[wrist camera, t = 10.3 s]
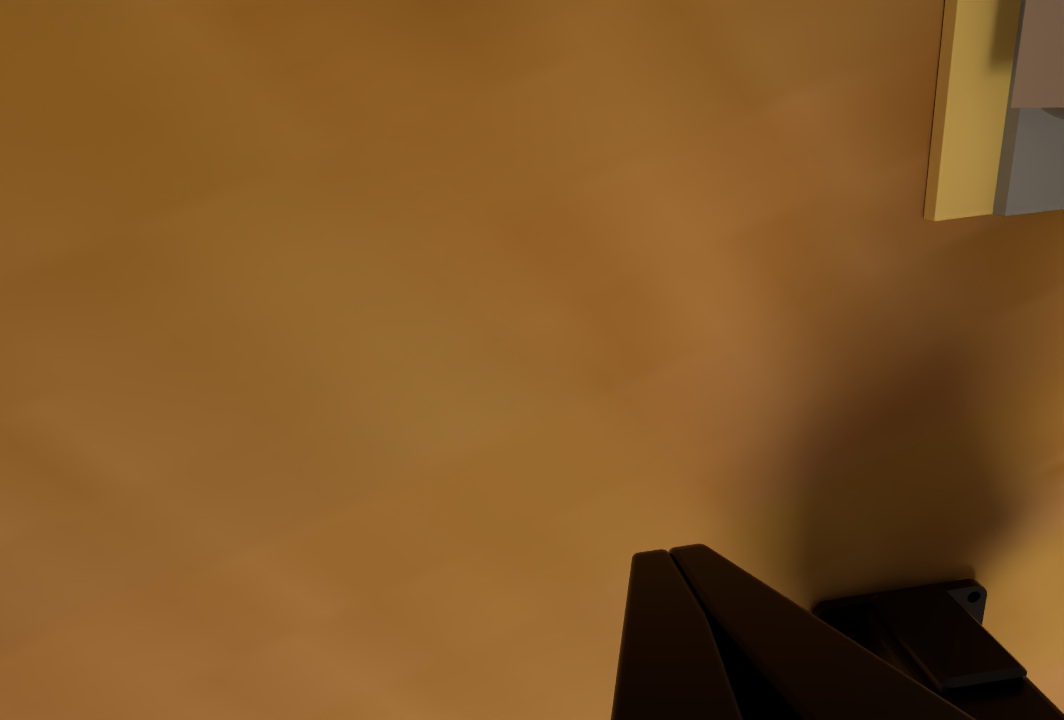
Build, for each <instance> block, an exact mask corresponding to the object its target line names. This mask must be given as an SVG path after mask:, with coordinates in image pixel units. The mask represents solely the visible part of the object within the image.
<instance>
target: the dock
mask: <svg viewBox="0 0 1064 720" xmlns="http://www.w3.org/2000/svg"><path fill="white" fill-rule="evenodd" d="M1025 5H1026V0H945V10H944V20H943V29H942V39H941V49H940V59H939V69H938V79H937V89H936V99H935V109H934V119H933V129H932V139H931V149H930V159H929V169H928V179H927V189H926V199H925V209H924V219H927V220H931V221H940V220H948V219H956V218H964V217H972V216H980V215H988V214H995V215H1000V216H1012V215H1020V214H1028V213H1036V212H1044V211H1052V210H1060V209H1064V120H1063V119H1060V118H1056V117H1054V116H1052V115H1050V114H1048V113H1046V112H1045V111H1043V110H1042V109H1041V108H1011V103H1012V96H1013V89H1014V82H1015V75H1016V68H1017V61H1018V54H1019V47H1020V40H1021V33H1022V26H1023V19H1024V12H1025Z"/></svg>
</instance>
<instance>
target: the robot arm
mask: <svg viewBox="0 0 1064 720" xmlns="http://www.w3.org/2000/svg"><path fill="white" fill-rule="evenodd" d="M986 597H987V591H986V590H985V588H984V587H983V586H982V585H981V584H980V583H978V582H977V581H976V580H974V579H965V580H959V581H952V582H946V583H939V584H933V585H926V586H920V587H913V588H907V589H900V590H893V591H887V592H880V593H874V594H867V595H861V596H854V597H848V598H841V599H835V600H828V601H824V602H821V603H819V604H818V605H816V607H815V608H814V609H813V613H812V614H811V613H810V612H808V611H807V610H805V609H804V608H802V607H800V606H799V605H797V604H796V603H794V602H793V601H791V600H790V599H788V598H787V597H785V596H783V595H782V594H780V593H779V592H777V591H776V590H774V589H773V588H771V587H769V586H768V585H766V584H765V583H763V582H762V581H760V580H759V579H757V578H756V577H754V576H752V575H751V574H749V573H748V572H746V571H745V570H743V569H742V568H740V567H738V566H737V565H735V564H734V563H732V562H731V561H729V560H728V559H726V558H725V557H723V556H721V555H720V554H718V553H717V552H715V551H714V550H712V549H711V548H709V547H708V546H706V545H703V544H693V545H686V546H680V547H673V548H671V549H670V550H669V552H668V551H666V550H663V549H659V550H653V551H646V552H639V553H636V554H634V555H633V557H632V563H631V570H630V578H629V586H628V593H627V601H626V608H625V616H624V624H623V631H622V639H621V646H620V654H619V662H618V669H617V677H616V685H615V692H614V700H613V707H612V715H611V720H1064V714H1063V713H1062V712H1061V711H1060V710H1059V709H1058V708H1057V707H1056V706H1055V705H1054V704H1053V703H1052V702H1051V701H1050V700H1049V699H1048V698H1047V697H1046V696H1045V695H1044V694H1043V693H1042V692H1041V691H1040V690H1039V689H1038V688H1037V687H1036V686H1035V685H1034V684H1033V683H1032V682H1031V681H1030V680H1029V679H1028V678H1027V677H1026V675H1027V671H1026V669H1025V668H1024V667H1023V666H1022V665H1021V664H1020V663H1019V662H1018V661H1017V660H1016V659H1015V658H1014V657H1013V656H1012V655H1011V654H1010V653H1009V652H1008V651H1007V650H1006V649H1005V648H1004V647H1003V646H1002V645H1001V644H1000V643H999V642H998V641H997V640H996V639H995V638H994V637H993V636H992V635H991V634H990V633H989V632H988V631H987V630H986V629H985V628H984V627H983V626H982V621H983V615H984V609H985V603H986ZM828 614H830V615H829V616H827V615H828ZM826 616H827V617H826Z"/></svg>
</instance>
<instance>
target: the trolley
mask: <svg viewBox="0 0 1064 720" xmlns="http://www.w3.org/2000/svg"><path fill="white" fill-rule="evenodd" d="M1011 108H1041V109H1042V110H1043V111H1045V112H1046V113H1048V114H1050V115H1052V116H1054V117H1056V118H1060V119H1063V120H1064V0H1026V5H1025V12H1024V19H1023V26H1022V33H1021V40H1020V47H1019V54H1018V61H1017V68H1016V75H1015V82H1014V89H1013V96H1012V103H1011Z"/></svg>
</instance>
